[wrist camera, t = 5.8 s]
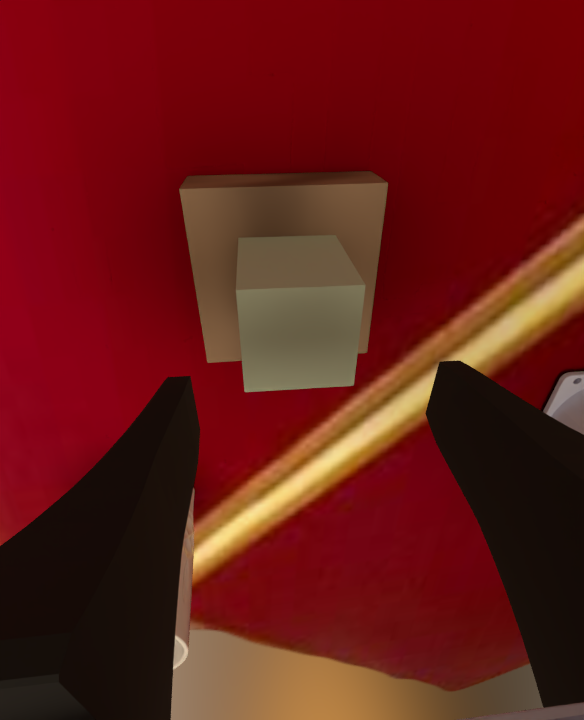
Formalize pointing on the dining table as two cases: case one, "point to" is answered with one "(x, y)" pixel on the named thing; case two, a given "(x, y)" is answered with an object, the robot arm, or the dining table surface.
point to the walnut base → (275, 235)
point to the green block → (297, 312)
